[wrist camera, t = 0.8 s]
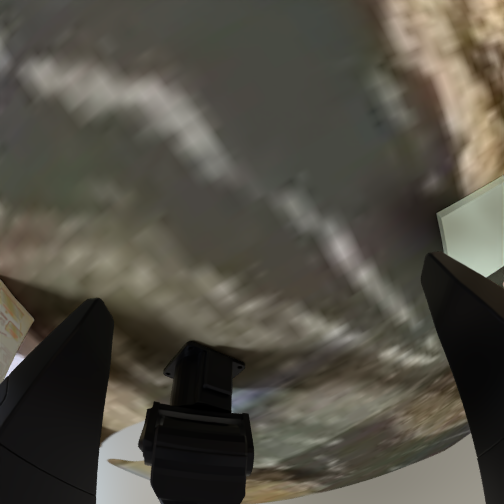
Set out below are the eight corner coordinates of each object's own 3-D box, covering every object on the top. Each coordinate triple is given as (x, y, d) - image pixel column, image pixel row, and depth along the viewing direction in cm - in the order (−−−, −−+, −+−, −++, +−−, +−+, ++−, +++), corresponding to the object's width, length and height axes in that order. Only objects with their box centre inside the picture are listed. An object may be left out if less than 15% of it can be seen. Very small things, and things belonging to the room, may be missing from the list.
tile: (449, 292, 27) (453, 297, 26) (436, 213, 22) (441, 217, 21) (518, 248, 24) (522, 252, 23) (515, 167, 19) (521, 170, 19)
